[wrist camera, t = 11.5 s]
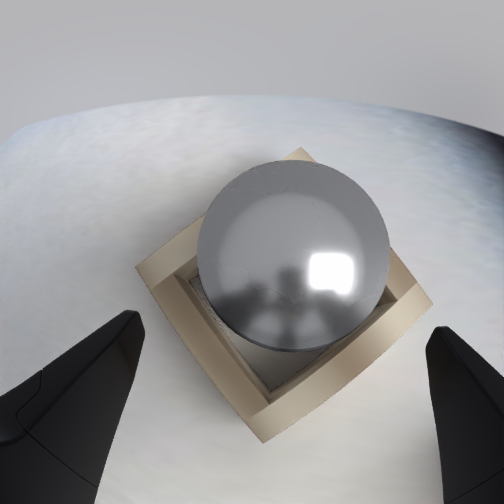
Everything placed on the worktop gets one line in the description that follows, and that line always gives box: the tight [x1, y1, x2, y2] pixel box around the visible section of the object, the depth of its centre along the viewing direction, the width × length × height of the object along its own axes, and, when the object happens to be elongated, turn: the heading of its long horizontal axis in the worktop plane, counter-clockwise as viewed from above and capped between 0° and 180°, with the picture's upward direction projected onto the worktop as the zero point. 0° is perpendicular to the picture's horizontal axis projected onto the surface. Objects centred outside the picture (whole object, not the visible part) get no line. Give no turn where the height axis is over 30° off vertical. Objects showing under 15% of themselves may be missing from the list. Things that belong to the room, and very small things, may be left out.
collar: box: [135, 147, 433, 443], centre depth 16 cm, size 11×11×3 cm
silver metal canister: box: [197, 160, 390, 352], centre depth 12 cm, size 5×5×11 cm
